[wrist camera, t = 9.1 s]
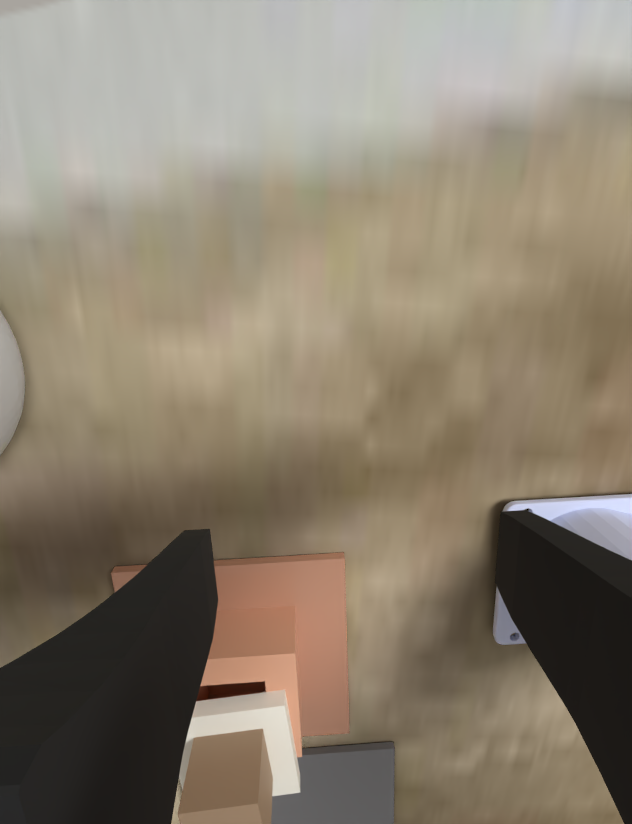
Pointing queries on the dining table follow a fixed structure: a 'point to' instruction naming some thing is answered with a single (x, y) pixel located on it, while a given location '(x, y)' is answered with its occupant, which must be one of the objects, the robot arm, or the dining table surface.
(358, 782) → the mat
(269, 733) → the lid
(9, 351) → the teacup
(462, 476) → the dining table surface
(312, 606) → the salmon stepped square block
